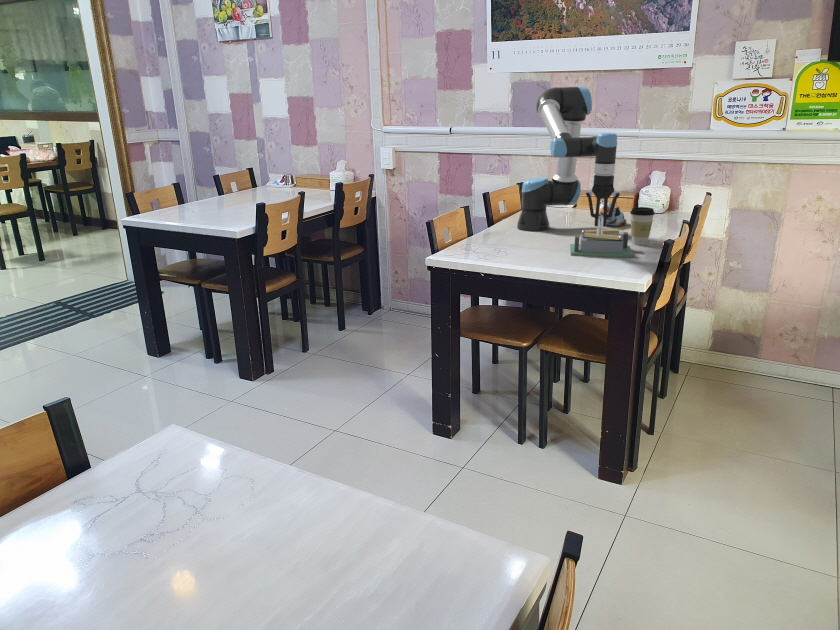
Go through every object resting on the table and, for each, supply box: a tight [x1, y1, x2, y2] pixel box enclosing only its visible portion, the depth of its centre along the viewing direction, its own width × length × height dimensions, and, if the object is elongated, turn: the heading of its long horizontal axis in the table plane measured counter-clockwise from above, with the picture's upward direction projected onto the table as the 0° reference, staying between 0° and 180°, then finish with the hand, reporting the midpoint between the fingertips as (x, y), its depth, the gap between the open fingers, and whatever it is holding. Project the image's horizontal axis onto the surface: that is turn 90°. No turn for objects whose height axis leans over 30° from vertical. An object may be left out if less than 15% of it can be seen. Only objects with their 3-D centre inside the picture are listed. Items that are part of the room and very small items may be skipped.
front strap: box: [584, 233, 623, 241], centre depth 261 cm, size 15×4×2 cm, turn 78°
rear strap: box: [581, 228, 620, 235], centre depth 269 cm, size 15×4×2 cm, turn 78°
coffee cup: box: [629, 206, 656, 246], centre depth 277 cm, size 10×10×15 cm
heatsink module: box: [569, 231, 634, 258], centre depth 266 cm, size 24×15×7 cm, turn 78°
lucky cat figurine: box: [598, 199, 627, 227], centre depth 316 cm, size 15×12×14 cm
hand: (599, 234), depth 261 cm, fingers closed, pressing on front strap
